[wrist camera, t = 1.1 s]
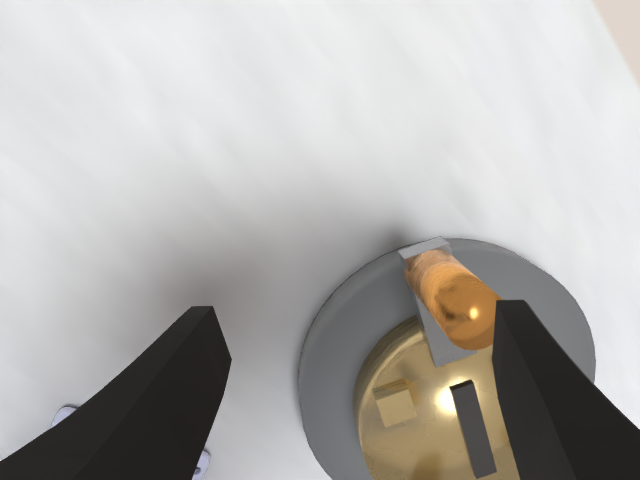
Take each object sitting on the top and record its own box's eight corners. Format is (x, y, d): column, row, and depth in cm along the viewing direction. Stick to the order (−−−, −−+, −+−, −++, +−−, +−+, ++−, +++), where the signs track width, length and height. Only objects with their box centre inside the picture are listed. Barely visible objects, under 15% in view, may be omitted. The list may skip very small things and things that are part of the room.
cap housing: (479, 516, 29) (494, 546, 27) (251, 437, 25) (249, 465, 23) (624, 307, 25) (653, 324, 23) (384, 187, 22) (395, 196, 20)
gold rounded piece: (563, 441, 25) (669, 563, 18) (384, 503, 25) (425, 649, 18) (513, 193, 21) (628, 237, 14) (297, 268, 21) (311, 347, 14)
